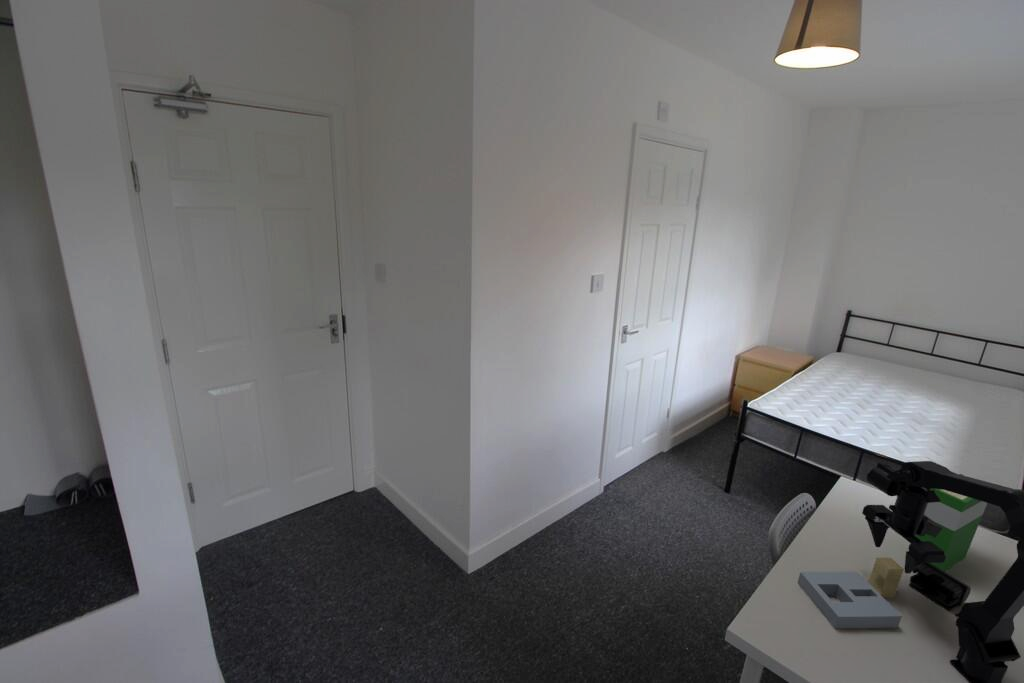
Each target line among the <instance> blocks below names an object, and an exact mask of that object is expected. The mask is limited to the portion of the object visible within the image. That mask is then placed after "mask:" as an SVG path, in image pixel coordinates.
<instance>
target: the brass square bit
mask: <svg viewBox="0 0 1024 683" xmlns="http://www.w3.org/2000/svg"><path fill="white" fill-rule="evenodd" d="M904 571H905V568H903V567H902V566H901V565H900V564H899V563H898V562H897V561H895V560H894V559H893V558H892V557H876V558H875V561H874V564H873V566H872V570H871V573H870V576H869V579H868V581H867V582H868V583H869V584H870V585H871V586H872V587H873V588H874V589H875V590H876V591H877V592H878V593H879V594H880V595H881V596H882V597H883V598H894V597H895V595H896V593H897V589H898V586H899V583H900V580H901V578H902V575H903V574H904Z"/></svg>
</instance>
